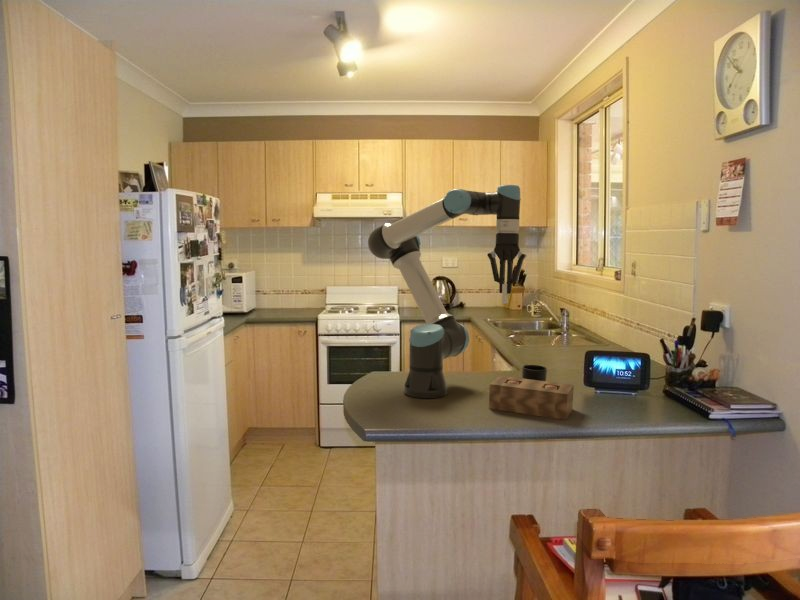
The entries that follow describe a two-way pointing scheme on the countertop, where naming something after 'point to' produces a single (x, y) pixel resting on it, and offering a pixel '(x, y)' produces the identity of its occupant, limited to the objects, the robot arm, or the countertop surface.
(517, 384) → the peg
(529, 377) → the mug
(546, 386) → the peg
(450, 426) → the countertop surface
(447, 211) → the robot arm
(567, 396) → the socket block
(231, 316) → the countertop surface
